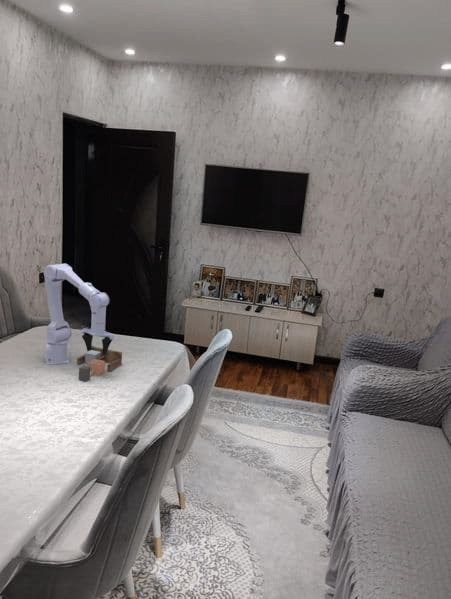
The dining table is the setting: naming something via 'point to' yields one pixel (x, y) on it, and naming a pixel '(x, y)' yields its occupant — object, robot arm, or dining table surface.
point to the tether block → (91, 369)
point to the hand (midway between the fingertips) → (96, 352)
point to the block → (92, 355)
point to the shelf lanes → (105, 358)
